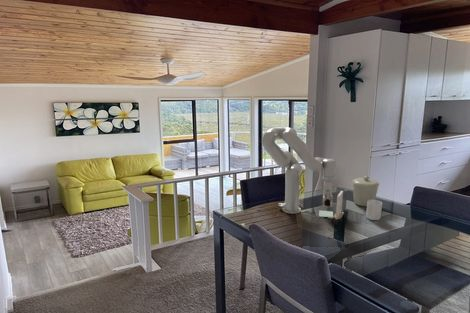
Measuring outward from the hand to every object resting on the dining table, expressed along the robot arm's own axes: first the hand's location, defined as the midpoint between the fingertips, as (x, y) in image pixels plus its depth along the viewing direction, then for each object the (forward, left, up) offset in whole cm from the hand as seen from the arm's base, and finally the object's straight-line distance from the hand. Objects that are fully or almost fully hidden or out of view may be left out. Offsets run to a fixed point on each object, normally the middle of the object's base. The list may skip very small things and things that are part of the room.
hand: (327, 203), depth 221 cm
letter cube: (0, 0, -1) cm, 1 cm away
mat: (0, 0, -8) cm, 8 cm away
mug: (+30, +4, -8) cm, 31 cm away
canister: (+26, +26, -8) cm, 37 cm away
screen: (+8, 0, -8) cm, 11 cm away
